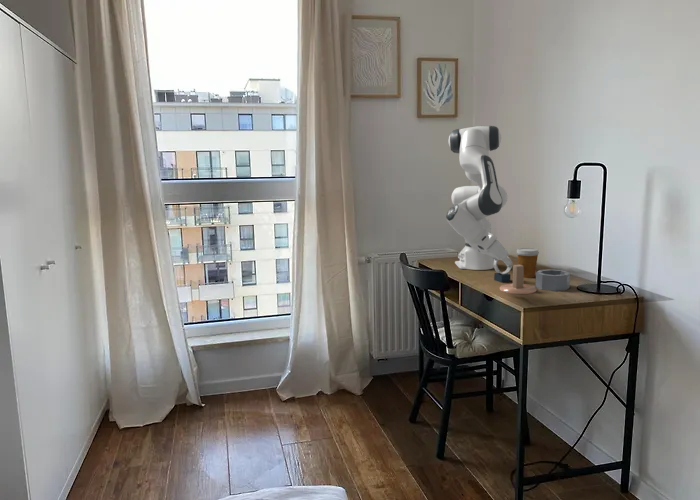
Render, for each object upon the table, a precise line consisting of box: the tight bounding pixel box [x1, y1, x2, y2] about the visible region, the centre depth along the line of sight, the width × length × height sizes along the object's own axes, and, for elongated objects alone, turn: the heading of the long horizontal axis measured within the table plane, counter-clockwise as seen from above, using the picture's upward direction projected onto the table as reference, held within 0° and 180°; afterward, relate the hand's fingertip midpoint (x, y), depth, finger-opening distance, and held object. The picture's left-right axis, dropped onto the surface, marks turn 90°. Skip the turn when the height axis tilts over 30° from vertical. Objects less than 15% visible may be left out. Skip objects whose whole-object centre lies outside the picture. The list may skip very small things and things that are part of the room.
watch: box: [493, 255, 514, 284], centre depth 241 cm, size 6×8×11 cm
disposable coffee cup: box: [516, 247, 540, 279], centre depth 249 cm, size 10×10×12 cm
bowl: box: [535, 269, 571, 292], centre depth 228 cm, size 12×12×6 cm
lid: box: [499, 264, 537, 295], centre depth 225 cm, size 14×14×10 cm
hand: (503, 261), depth 221 cm, fingers open, 8 cm apart
